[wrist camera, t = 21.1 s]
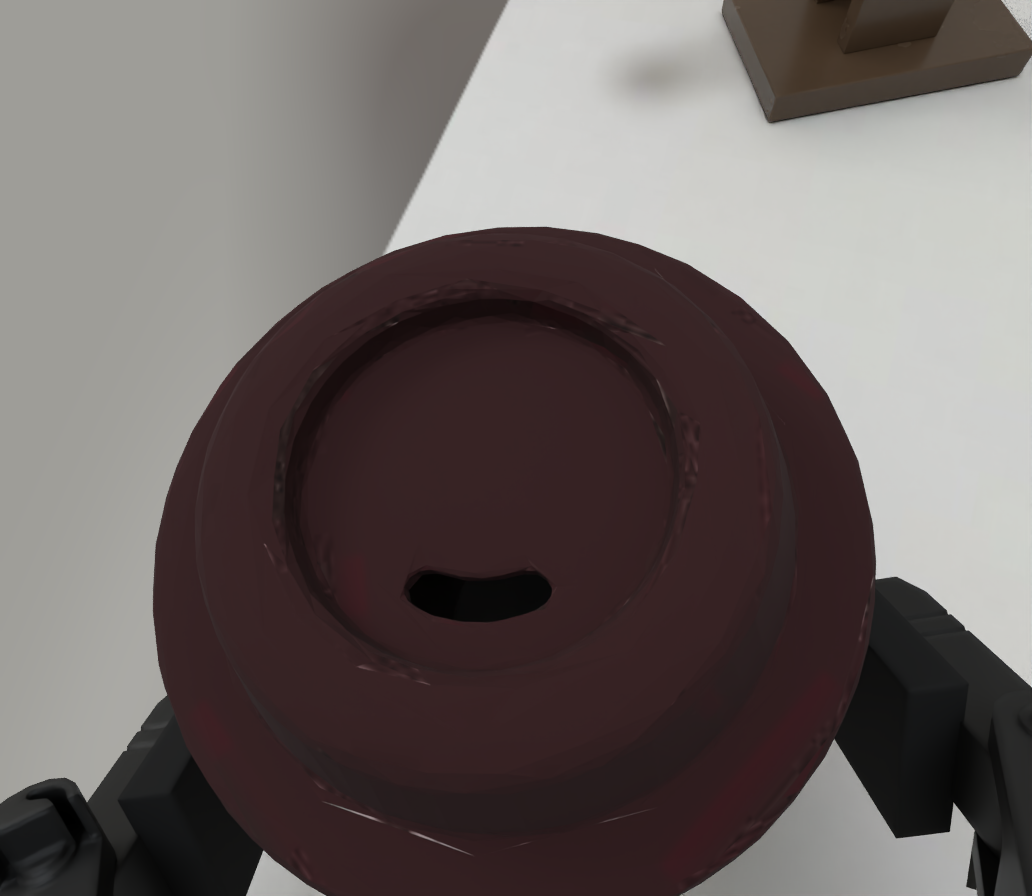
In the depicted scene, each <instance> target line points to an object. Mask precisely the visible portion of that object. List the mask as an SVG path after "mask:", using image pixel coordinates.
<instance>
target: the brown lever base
mask: <svg viewBox="0 0 1032 896" xmlns="http://www.w3.org/2000/svg"><path fill="white" fill-rule="evenodd" d="M722 14H723V16H724V19H725V21H726V23H727V26H728V28H729V30H730V33H731V35H732V37H733V39H734V42H735V44H736V46H737V49H738V51H739V53H740V56H741V58H742V60H743V63H744V65H745V67H746V70H747V72H748V74H749V77H750V79H751V81H752V84H753V86H754V88H755V91H756V93H757V95H758V97H759V100H760V102H761V104H762V107H763V109H764V111H765V114H766V116H767V118H768V121H769V122H774V121H779V120H784V119H790V118H795V117H800V116H806V115H811V114H816V113H822V112H827V111H832V110H838V109H843V108H848V107H854V106H859V105H864V104H870V103H875V102H880V101H886V100H891V99H896V98H902V97H907V96H912V95H918V94H923V93H928V92H934V91H939V90H944V89H950V88H955V87H960V86H966V85H971V84H976V83H982V82H987V81H992V80H998V79H1003V78H1008V77H1014V76H1018V75H1019V74H1020V73H1021V71H1022V70H1023V68H1024V67H1025V65H1026V64H1027V62H1028V61H1029V59H1030V58H1031V56H1032V41H1031V39H1030V38H1029V37H1028V35H1027V34H1026V33H1025V31H1024V30H1023V29H1022V27H1021V26H1020V25H1019V23H1018V22H1017V21H1016V19H1015V18H1014V17H1013V15H1012V14H1011V13H1010V11H1009V10H1008V9H1007V7H1006V6H1005V5H1004V3H1003V2H1002V1H1001V0H724V1H723V7H722Z"/></svg>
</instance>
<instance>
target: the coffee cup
mask: <svg viewBox="0 0 1032 896" xmlns="http://www.w3.org/2000/svg"><path fill="white" fill-rule="evenodd" d="M875 575H876V556H875V544H874V532H873V523H872V518H871V514H870V510H869V506H868V501H867V497H866V493H865V488H864V484H863V480H862V475H861V471H860V467H859V463H858V460H857V457H856V455H855V453H854V451H853V448H852V446H851V444H850V442H849V439H848V437H847V435H846V433H845V430H844V428H843V426H842V424H841V422H840V420H839V418H838V416H837V414H836V411H835V409H834V407H833V405H832V403H831V401H830V399H829V397H828V395H827V393H826V392H825V390H824V389H823V388H822V386H821V385H820V384H819V382H818V381H817V380H816V378H815V377H814V375H813V374H812V373H811V371H810V370H809V369H808V367H807V366H806V365H805V363H804V362H803V361H802V359H801V358H800V357H799V355H798V354H797V352H796V351H795V350H794V348H793V347H792V346H791V344H790V343H789V342H788V341H787V340H786V339H785V338H784V337H783V336H782V335H781V334H780V333H779V332H778V331H777V330H775V329H774V328H773V327H772V326H771V325H770V324H769V323H768V322H767V321H766V320H765V319H764V318H762V317H761V316H760V315H759V314H758V313H757V312H756V311H755V310H754V309H753V308H752V307H751V306H749V305H748V304H747V303H746V302H745V301H744V300H743V299H742V298H741V297H739V296H738V295H736V294H734V293H733V292H731V291H730V290H728V289H726V288H725V287H723V286H722V285H720V284H718V283H717V282H715V281H714V280H712V279H710V278H709V277H707V276H706V275H704V274H702V273H701V272H699V271H698V270H696V269H694V268H693V267H691V266H690V265H688V264H686V263H684V262H681V261H679V260H676V259H674V258H671V257H669V256H666V255H664V254H661V253H659V252H656V251H654V250H651V249H649V248H646V247H644V246H641V245H639V244H635V243H632V242H628V241H624V240H620V239H617V238H613V237H609V236H605V235H602V234H598V233H591V232H583V231H575V230H567V229H559V228H551V227H502V228H492V229H485V230H479V231H472V232H465V233H458V234H452V235H445V236H442V237H438V238H435V239H432V240H428V241H425V242H422V243H418V244H415V245H412V246H408V247H405V248H402V249H399V250H395V251H393V252H391V253H388V254H386V255H384V256H382V257H379V258H377V259H375V260H373V261H371V262H369V263H367V264H365V265H363V266H361V267H359V268H357V269H355V270H353V271H351V272H349V273H347V274H346V275H344V276H342V277H340V278H339V279H337V280H335V281H333V282H331V283H330V284H328V285H326V286H324V287H323V288H321V289H320V290H318V291H317V292H316V293H314V294H313V295H312V296H310V297H309V298H308V299H306V300H305V301H303V302H302V303H301V304H299V305H298V306H297V307H296V308H294V309H293V310H292V311H291V312H289V313H288V314H287V315H286V316H284V317H283V318H282V319H281V320H280V321H278V322H277V323H276V324H275V325H274V326H273V327H272V328H271V329H270V330H269V331H268V332H267V333H266V334H265V335H264V336H263V337H262V338H261V339H260V340H259V341H258V342H257V343H256V344H255V345H254V346H253V347H252V348H251V349H250V350H249V351H248V352H247V353H246V354H245V355H244V356H243V358H241V360H240V361H238V362H237V364H236V365H235V366H234V368H233V369H232V370H231V372H230V373H229V374H228V376H227V377H226V378H225V380H224V381H223V382H222V384H221V385H220V387H219V388H218V390H217V392H216V394H215V395H214V396H213V398H212V400H211V401H210V403H209V405H208V406H207V408H206V410H205V412H204V413H203V415H202V416H201V418H200V420H199V421H198V423H197V425H196V426H195V428H194V430H193V431H192V433H191V435H190V438H189V440H188V442H187V445H186V447H185V449H184V451H183V454H182V456H181V458H180V460H179V463H178V465H177V467H176V470H175V473H174V476H173V479H172V482H171V485H170V488H169V491H168V494H167V497H166V502H165V506H164V511H163V515H162V519H161V524H160V528H159V533H158V537H157V541H156V550H155V567H154V586H153V617H154V626H155V635H156V644H157V652H158V661H159V667H160V671H161V674H162V678H163V683H164V686H165V689H166V692H167V695H168V698H169V700H170V703H171V706H172V708H173V711H174V714H175V717H176V719H177V722H178V725H179V727H180V730H181V733H182V736H183V738H184V741H185V744H186V746H187V748H188V750H189V751H190V753H191V755H192V756H193V758H194V760H195V762H196V763H197V765H198V767H199V768H200V770H201V772H202V773H203V775H204V777H205V778H206V780H207V782H208V783H209V785H210V786H211V788H212V789H213V791H214V792H215V794H216V795H217V797H218V798H219V799H220V801H221V802H222V804H223V805H224V807H225V808H226V810H227V811H228V813H229V814H230V815H231V816H232V817H233V818H234V820H235V821H236V822H237V823H238V824H239V825H240V826H241V827H242V829H243V830H244V831H245V832H246V833H247V834H248V835H249V837H250V838H251V839H252V840H253V841H254V842H255V843H257V844H258V845H259V846H260V847H261V848H262V849H263V850H264V851H265V852H266V853H267V854H268V855H269V856H270V857H271V858H272V859H273V860H275V861H276V862H277V863H279V864H280V865H281V866H283V867H284V868H286V869H287V870H288V871H290V872H291V873H292V874H294V875H295V876H296V877H298V878H299V879H300V880H302V881H303V882H304V883H306V884H307V885H309V886H310V887H312V888H314V889H316V890H317V891H319V892H321V893H323V894H324V895H326V896H680V895H681V894H683V893H685V892H687V891H688V890H690V889H692V888H694V887H695V886H697V885H699V884H701V883H702V882H704V881H705V880H706V879H708V878H709V877H711V876H712V875H714V874H715V873H716V872H718V871H719V870H721V869H722V868H724V867H725V866H726V865H728V864H729V863H731V862H732V861H733V860H735V859H736V858H737V857H738V856H739V855H741V854H742V853H743V852H744V851H746V850H747V849H748V848H749V847H750V846H752V845H753V844H754V843H755V842H757V841H758V840H759V839H760V838H761V837H762V836H763V835H764V834H765V832H766V831H767V830H768V829H769V828H770V827H771V826H772V825H773V824H774V822H775V821H776V820H777V819H778V818H779V817H780V816H781V815H782V813H783V812H784V811H785V810H786V809H787V808H788V807H789V806H790V805H791V803H792V802H793V801H794V800H795V798H796V797H797V796H798V794H799V793H800V791H801V790H802V788H803V787H804V786H805V784H806V783H807V781H808V780H809V779H810V777H811V776H812V774H813V773H814V772H815V770H816V769H817V767H818V766H819V765H820V763H821V762H822V760H823V759H824V758H825V756H826V754H827V752H828V750H829V748H830V746H831V744H832V742H833V740H834V738H835V736H836V734H837V732H838V730H839V728H840V726H841V724H842V722H843V719H844V717H845V714H846V712H847V710H848V707H849V705H850V702H851V700H852V698H853V695H854V693H855V690H856V688H857V685H858V682H859V679H860V675H861V671H862V667H863V663H864V660H865V656H866V652H867V648H868V645H869V638H870V631H871V625H872V618H873V611H874V604H875Z"/></svg>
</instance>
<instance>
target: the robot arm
mask: <svg viewBox="0 0 1032 896" xmlns="http://www.w3.org/2000/svg"><path fill="white" fill-rule="evenodd" d="M834 739H835V741H836V742H837V744H838V746H839V747H840V749H841V750H842V752H843V754H844V755H845V757H846V758H847V760H848V762H849V763H850V765H851V766H852V768H853V770H854V771H855V773H856V775H857V776H858V778H859V779H860V781H861V783H862V784H863V786H864V787H865V789H866V791H867V792H868V794H869V795H870V797H871V799H872V800H873V802H874V804H875V805H876V807H877V808H878V810H879V812H880V813H881V815H882V816H883V818H884V820H885V821H886V823H887V824H888V826H889V828H890V829H891V831H892V833H893V834H894V836H895V837H896V838H904V837H912V836H920V835H928V834H936V833H944V832H950V826H951V818H952V811H953V803H955V805H956V806H957V807H958V809H959V810H960V811H961V813H962V814H963V815H964V816H965V818H966V819H967V820H968V822H969V823H970V824H971V826H972V827H973V828H974V830H975V832H974V839H973V845H972V852H971V859H970V865H969V872H968V879H967V885H966V887H969V888H972V889H975V890H976V888H977V895H978V896H1032V687H1031V686H1029V685H1028V684H1027V683H1026V682H1025V681H1024V680H1023V679H1022V678H1021V677H1020V676H1018V675H1017V674H1016V673H1015V672H1014V671H1013V670H1012V669H1011V668H1010V667H1009V666H1007V665H1006V664H1005V663H1004V662H1003V661H1002V660H1001V659H1000V658H999V657H997V656H996V655H995V654H994V653H993V652H992V651H991V650H990V649H989V648H988V647H986V646H985V645H984V644H983V643H982V642H981V641H980V640H979V639H978V638H977V637H975V636H974V635H973V634H972V633H971V632H970V631H966V630H965V628H964V626H963V625H962V624H961V623H960V622H959V621H958V620H957V619H956V618H954V617H953V616H952V615H951V614H950V615H948V614H947V610H946V609H945V608H943V607H942V606H941V605H940V604H939V603H938V602H937V601H936V600H935V599H933V598H932V597H931V596H930V595H929V594H928V593H927V592H926V591H924V590H922V589H920V588H918V587H916V586H914V585H912V584H910V583H908V582H906V581H904V580H902V579H900V578H898V577H891V578H884V579H877V580H875V604H874V611H873V618H872V625H871V631H870V638H869V645H868V648H867V652H866V656H865V660H864V663H863V667H862V671H861V675H860V679H859V682H858V685H857V688H856V690H855V693H854V695H853V698H852V700H851V702H850V705H849V707H848V710H847V712H846V714H845V717H844V719H843V722H842V724H841V726H840V728H839V730H838V732H837V734H836V736H835V738H834ZM262 852H263V849H262V848H261V847H260V846H259V845H258V844H257V843H255V842H254V841H253V840H252V839H251V838H250V837H249V835H248V834H247V833H246V832H245V831H244V830H243V829H242V827H241V826H240V825H239V824H238V823H237V822H236V821H235V820H234V818H233V817H232V816H231V815H230V814H229V813H228V811H227V810H226V808H225V807H224V805H223V804H222V802H221V801H220V799H219V798H218V797H217V795H216V794H215V792H214V791H213V789H212V788H211V786H210V785H209V783H208V782H207V780H206V778H205V777H204V775H203V773H202V772H201V770H200V768H199V767H198V765H197V763H196V762H195V760H194V758H193V756H192V755H191V753H190V751H189V750H188V748H187V746H186V744H185V741H184V738H183V736H182V733H181V730H180V727H179V725H178V722H177V719H176V717H175V714H174V711H173V708H172V706H171V703H170V700H169V698H168V695H167V696H166V697H165V698H164V699H163V700H161V701H160V702H159V703H158V704H157V705H156V707H155V708H154V709H153V711H152V712H151V714H150V715H149V716H148V718H147V719H146V721H145V722H144V723H143V725H142V726H141V731H139V732H137V733H136V735H135V736H134V737H133V739H132V740H131V742H130V743H129V745H128V746H127V751H124V752H123V753H122V754H121V756H120V757H119V758H118V760H117V761H116V763H115V764H114V766H113V767H112V768H111V770H110V771H109V773H108V774H107V775H106V777H105V778H104V780H103V781H102V782H101V784H100V785H99V787H98V788H97V789H96V791H95V792H94V794H93V795H92V797H91V798H90V799H89V801H88V802H86V800H85V798H84V797H83V795H82V793H81V792H80V790H79V788H78V786H77V785H76V783H75V782H73V781H71V780H69V779H67V778H58V779H48V780H45V781H43V782H40V783H37V784H34V785H32V786H29V787H27V788H25V789H23V790H22V791H20V792H18V793H17V794H15V795H13V796H11V797H9V798H7V799H6V800H5V801H3V802H2V803H1V804H0V896H246V894H247V892H248V889H249V886H250V884H251V881H252V878H253V876H254V873H255V871H256V868H257V865H258V863H259V860H260V858H261V855H262Z"/></svg>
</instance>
